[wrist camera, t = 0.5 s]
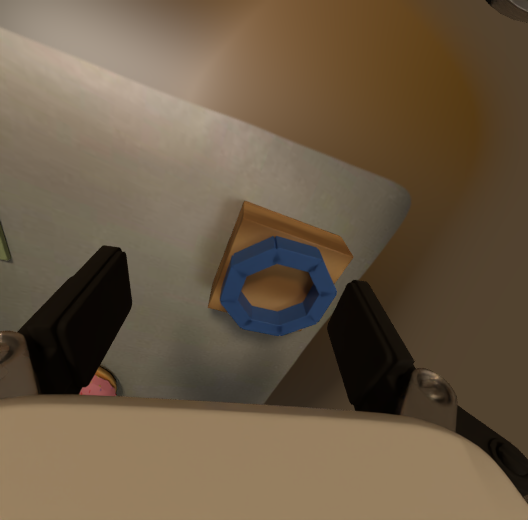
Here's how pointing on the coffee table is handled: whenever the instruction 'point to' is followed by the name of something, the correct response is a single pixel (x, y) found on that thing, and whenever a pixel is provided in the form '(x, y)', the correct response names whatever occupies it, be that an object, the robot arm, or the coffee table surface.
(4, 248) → the mat
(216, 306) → the platform
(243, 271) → the ring
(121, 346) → the coffee table surface
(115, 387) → the doughnut
